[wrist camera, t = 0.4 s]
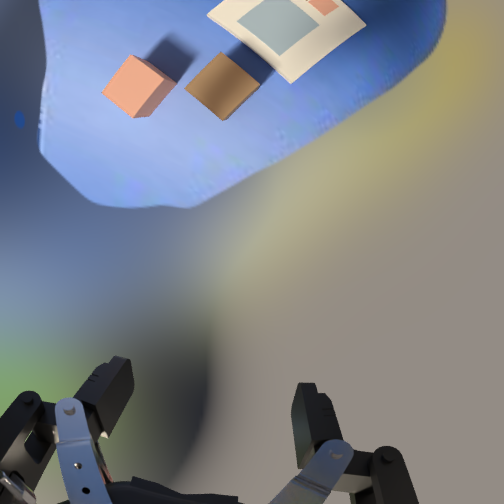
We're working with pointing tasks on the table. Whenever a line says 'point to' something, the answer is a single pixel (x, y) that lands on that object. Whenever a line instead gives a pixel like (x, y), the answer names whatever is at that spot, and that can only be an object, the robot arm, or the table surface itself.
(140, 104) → the coral block
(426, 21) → the table surface
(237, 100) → the walnut block
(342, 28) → the board
